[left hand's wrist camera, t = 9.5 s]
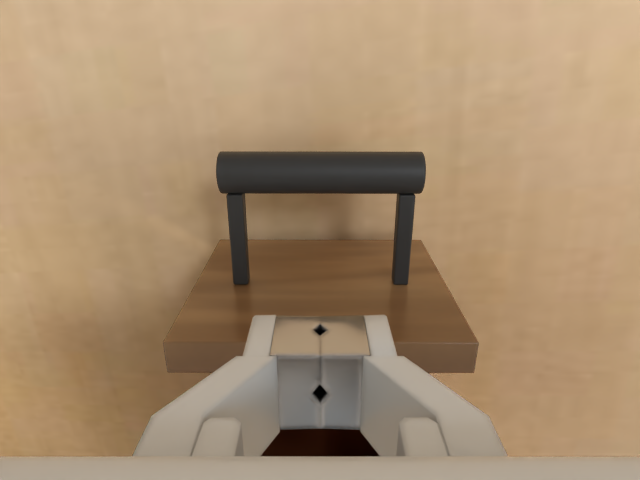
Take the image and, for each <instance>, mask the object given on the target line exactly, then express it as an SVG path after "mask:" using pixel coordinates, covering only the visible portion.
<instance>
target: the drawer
mask: <svg viewBox="0 0 640 480" xmlns="http://www.w3.org/2000/svg"><path fill="white" fill-rule="evenodd" d="M216 175H217V184H218V188H219V191H220V192H221V193H228V194H227V208H228V221H229V233H230V240H220V241H219V243H218V245H217V247H216V248H215V250H214V252H213V254H212V256H211V257H210V259H209V261H208V263H207V265H206V266H205V268H204V270H203V272H202V274H201V275H200V277H199V279H198V281H197V282H196V284H195V286H194V288H193V290H192V291H191V293H190V295H189V297H188V299H187V300H186V302H185V304H184V306H183V308H182V309H181V311H180V313H179V315H178V317H177V318H176V320H175V322H174V324H173V326H172V327H171V329H170V331H169V333H168V334H167V336H166V338H165V340H164V342H163V345H164V352H165V358H166V365H167V371H168V372H214V371H216V370H217V369H219V368H220V367H221V366H223V365H224V364H226V363H227V362H229V361H230V360H231V359H233V358H234V357H236V356H243V352H244V349H245V345H246V341H247V337H248V334H249V330H250V326H251V322H252V319H253V317H254V316H255V315H276V316H277V315H297V316H356V315H386V316H387V319H388V323H389V327H390V330H391V334H392V338H393V341H394V345H395V349H396V353H397V356H404V357H406V358H407V359H409V360H410V361H411V362H413V363H414V364H416V365H417V366H419V367H420V368H421V369H423V370H424V371H426V372H427V373H428V374H429V373H474V370H475V363H476V357H477V350H478V344H479V343H478V341H477V339H476V337H475V335H474V334H473V332H472V330H471V328H470V327H469V325H468V323H467V321H466V319H465V318H464V316H463V314H462V312H461V311H460V309H459V307H458V305H457V303H456V302H455V300H454V298H453V296H452V295H451V293H450V291H449V289H448V287H447V286H446V284H445V282H444V280H443V279H442V277H441V275H440V273H439V271H438V270H437V268H436V266H435V264H434V263H433V261H432V259H431V257H430V255H429V254H428V252H427V250H426V248H425V247H424V245H423V243H422V241H421V240H412V230H413V218H414V206H415V195H414V194H419V193H421V192H422V191H423V188H424V184H425V176H426V164H425V158H424V154H423V153H422V152H219V154H218V157H217V164H216ZM245 193H348V194H397V203H396V218H395V233H394V240H248V239H247V222H246V206H245ZM261 456H379V455H378V453H377V452H376V451H375V450H374V448H373V447H372V446H371V444H370V443H369V442H368V441H367V439H366V438H365V437H364V436H363V434H362V433H361V432H360V430H352V429H288V430H280V432H279V434H278V435H277V436H276V437H275V439H274V440H273V441H272V442H271V444H270V445H269V446H268V447H267V449H266V450H265V451H264V452H263V454H262V455H261Z"/></svg>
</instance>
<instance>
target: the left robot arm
mask: <svg viewBox="0 0 640 480" xmlns="http://www.w3.org/2000/svg"><path fill="white" fill-rule="evenodd" d="M288 429H352V430H360V432H361V433H362V434H363V436H364V437H365V438H366V439H367V441H368V442H369V443H370V444H371V446H372V447H373V448H374V450H375V451H376V452H377V453H378V455H379V456H261V455H262V454H263V452H264V451H265V450H266V449H267V447H268V446H269V445H270V444H271V442H272V441H273V440H274V439H275V437H276V436H277V435H278V434H279V432H280V430H288ZM0 480H640V456H508V455H507V453H506V451H505V449H504V447H503V445H502V443H501V441H500V438H499V436H498V434H497V432H496V430H495V428H494V426H493V424H492V422H491V420H490V417H489V416H488V415H486V414H485V413H484V412H482V411H481V410H479V409H478V408H477V407H475V406H474V405H472V404H471V403H469V402H468V401H467V400H465V399H464V398H462V397H461V396H460V395H458V394H457V393H455V392H454V391H452V390H451V389H450V388H448V387H447V386H445V385H444V384H443V383H441V382H440V381H438V380H437V379H436V378H434V377H433V376H431V375H430V374H428V373H427V372H426V371H424V370H423V369H421V368H420V367H419V366H417V365H416V364H414V363H413V362H411V361H410V360H409V359H407V358H406V357H404V356H397V353H396V349H395V345H394V341H393V338H392V334H391V330H390V327H389V323H388V319H387V316H386V315H356V316H297V315H277V316H276V315H255V316H254V317H253V319H252V322H251V326H250V330H249V334H248V337H247V341H246V345H245V349H244V352H243V356H236V357H234V358H233V359H231V360H230V361H229V362H227V363H226V364H224V365H223V366H221V367H220V368H219V369H217V370H216V371H214V372H213V373H211V374H210V375H209V376H207V377H206V378H204V379H203V380H202V381H200V382H199V383H197V384H196V385H194V386H193V387H192V388H190V389H189V390H187V391H186V392H184V393H183V394H182V395H180V396H179V397H177V398H176V399H175V400H173V401H172V402H170V403H169V404H167V405H166V406H165V407H163V408H162V409H160V410H159V411H157V412H156V413H155V414H153V415H152V416H151V418H150V420H149V422H148V424H147V426H146V428H145V430H144V432H143V435H142V437H141V439H140V441H139V443H138V445H137V447H136V449H135V451H134V453H133V455H132V456H0Z"/></svg>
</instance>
